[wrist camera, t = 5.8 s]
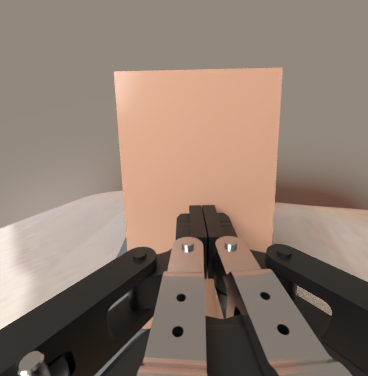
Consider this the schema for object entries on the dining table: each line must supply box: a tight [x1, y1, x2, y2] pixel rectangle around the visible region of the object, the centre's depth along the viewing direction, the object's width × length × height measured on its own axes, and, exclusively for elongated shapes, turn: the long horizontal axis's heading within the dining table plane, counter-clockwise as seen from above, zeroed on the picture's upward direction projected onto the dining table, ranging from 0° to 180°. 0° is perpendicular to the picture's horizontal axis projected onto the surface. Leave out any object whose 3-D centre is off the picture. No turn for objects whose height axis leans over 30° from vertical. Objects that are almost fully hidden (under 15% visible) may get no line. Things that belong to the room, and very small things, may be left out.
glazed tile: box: [114, 68, 283, 329], centre depth 14 cm, size 2×9×16 cm, turn 90°
